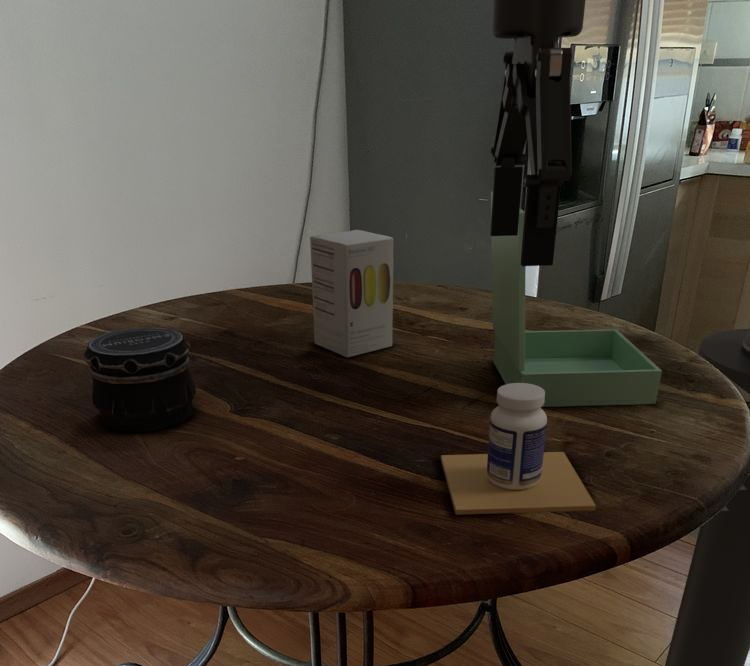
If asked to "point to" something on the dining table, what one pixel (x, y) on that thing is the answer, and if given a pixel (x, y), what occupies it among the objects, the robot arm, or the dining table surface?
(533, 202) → the robot arm
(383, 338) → the supplement box
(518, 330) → the chest lid
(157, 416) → the container
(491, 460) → the pill bottle
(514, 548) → the dining table surface
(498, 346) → the chest
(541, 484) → the cork mat
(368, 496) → the dining table surface
